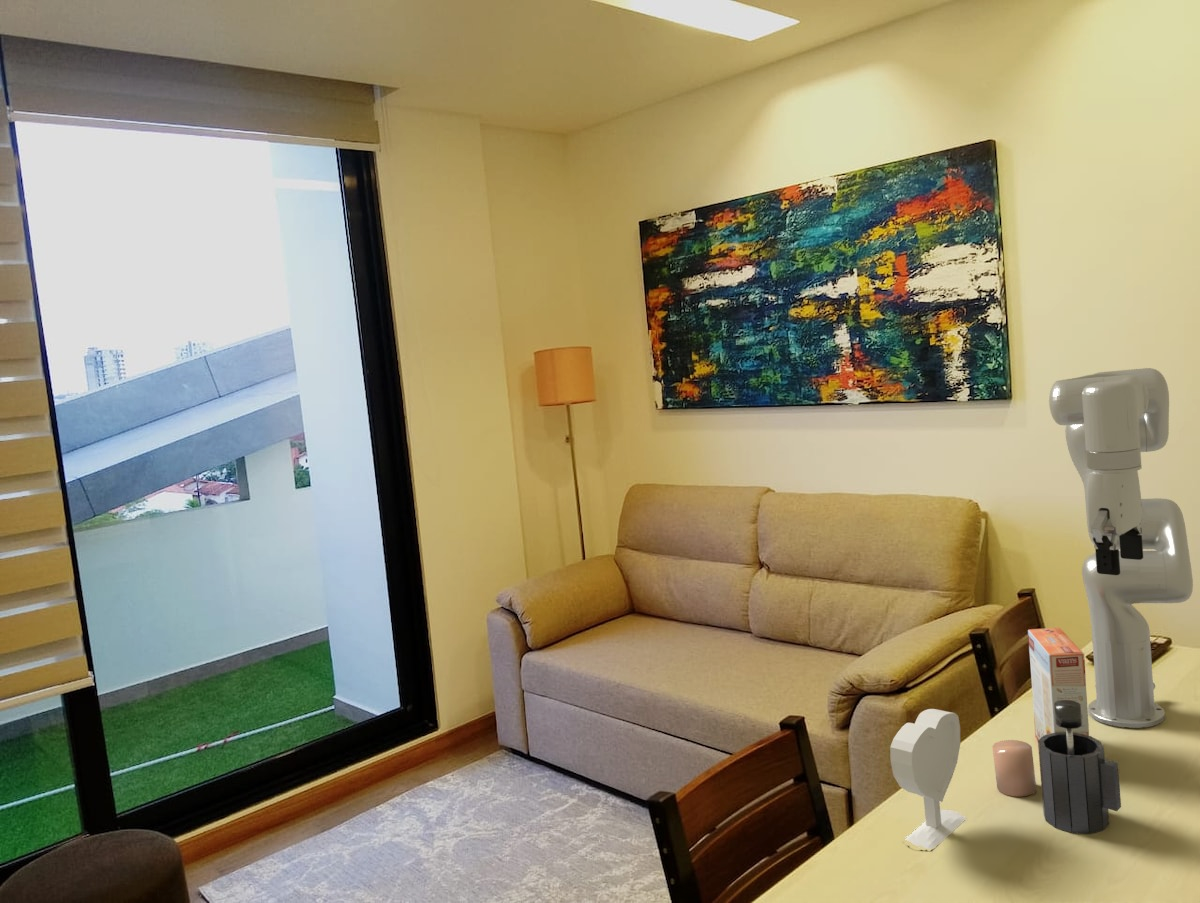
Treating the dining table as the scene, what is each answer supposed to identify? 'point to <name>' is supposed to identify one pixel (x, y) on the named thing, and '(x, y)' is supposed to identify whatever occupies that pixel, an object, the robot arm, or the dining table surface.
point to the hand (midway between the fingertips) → (1120, 566)
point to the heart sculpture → (928, 770)
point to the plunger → (1068, 719)
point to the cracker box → (1056, 678)
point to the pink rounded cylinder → (1014, 768)
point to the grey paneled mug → (1077, 783)
